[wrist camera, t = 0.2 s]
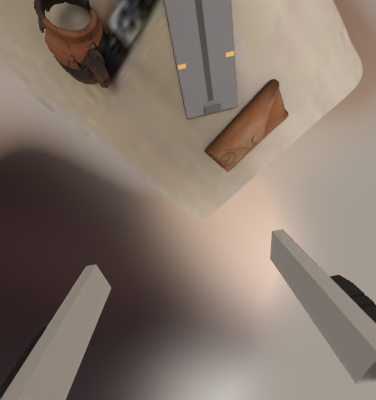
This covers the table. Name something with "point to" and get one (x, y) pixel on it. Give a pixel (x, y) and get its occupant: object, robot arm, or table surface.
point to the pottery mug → (76, 44)
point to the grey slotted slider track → (203, 54)
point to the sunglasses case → (249, 127)
